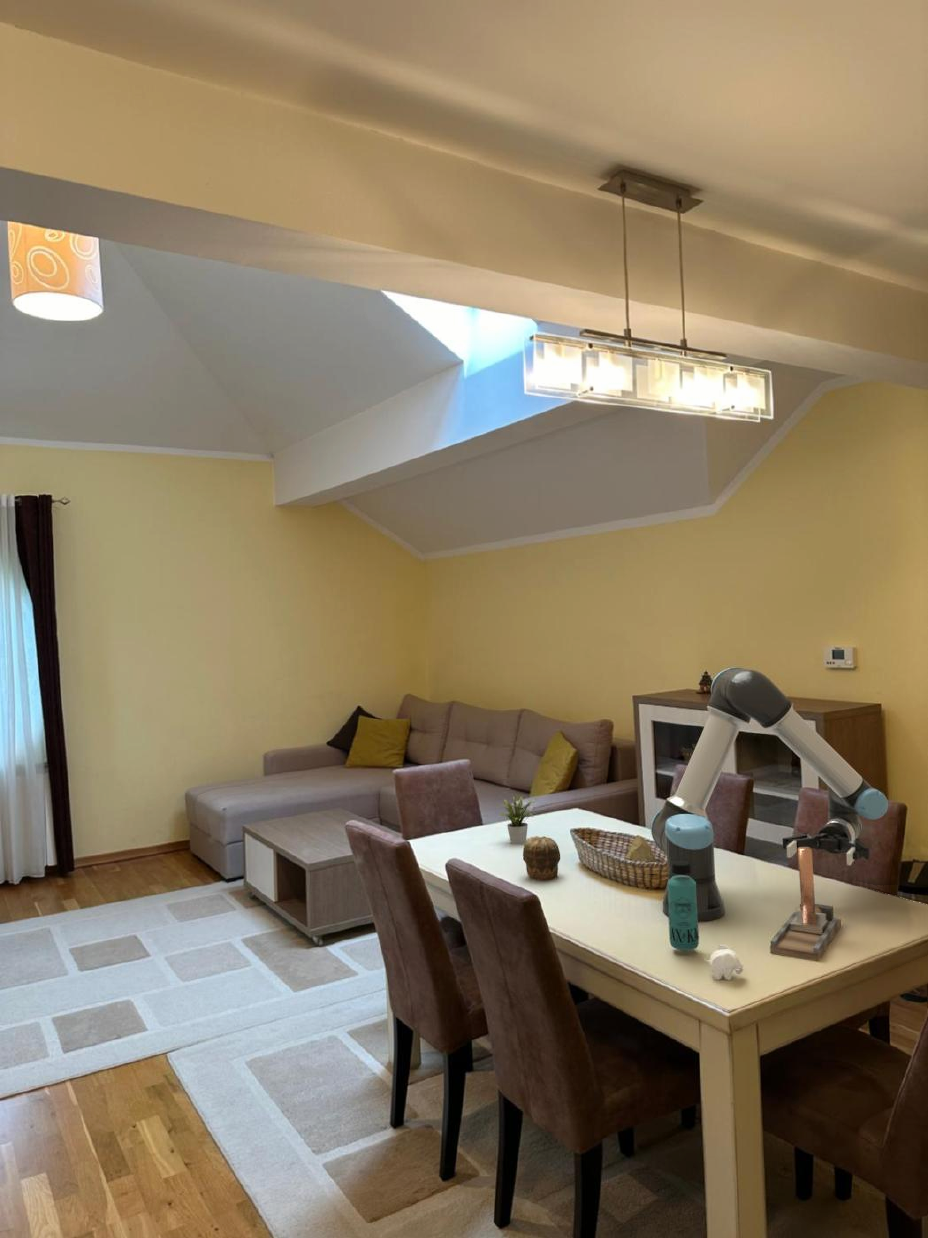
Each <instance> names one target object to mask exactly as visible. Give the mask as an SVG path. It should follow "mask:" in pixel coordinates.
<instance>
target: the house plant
mask: <svg viewBox="0 0 928 1238" xmlns="http://www.w3.org/2000/svg"><path fill="white" fill-rule="evenodd" d="M512 799H513V801H512V803H513V807H514V809H513V807H512V805H511V803H510V802H509V801H508V800H507V799H506V798H503V800H504V802H505V804H506V805H504V804H503V803H500V804H501V806H503V807H504V808H505V810H507V814H504V813H503V814H500V815H499V816H500V817H506V818H508V819H509V820H510V823H508V824H507V825H506V827H507V831H508V835H509V841H510V843H513V844H512V845H514V844H521V845H525V844H524V843H525V842H526V841H527V836H528V828H529V827H528V826H529V825H528V823H526V822H525V821H526V819H528V818H529V816H530V817H533V815H534V814H531V813H530V812H531V811H533V809H530V810H528V811H527V812H526V810H527V808H530V807H531V806H532V804H534V803H535V801H536V800H537V798H536V799H532V800H530V801H529V802H527V803H526V804H525V805H524V806H523V803H524V801H523V800H524V797H522V795H520V797H519V800H518V803H517V801H516V799H515V796H512ZM525 817H526V818H525Z"/></svg>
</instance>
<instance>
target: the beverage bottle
mask: <svg viewBox="0 0 928 1238" xmlns="http://www.w3.org/2000/svg"><path fill="white" fill-rule="evenodd" d="M672 873H675V874H689V873H691V869H690V864H689V863H688V862H685V861H676V862H673V863H672ZM667 884H668V901H669V908H668V909H669V914H668V915H667V918H668V931H669V937H668V938H669V943H670V946H671V947H672V948H674V949H676V950H681V951H693V950H695V949H697V948H698V947H699V944H700V935H699V933H700V931H699V921H698V917H697V909H698V908H697V899H696V882H695V881H694V880H693V879H692V878H691V877H689V876H684V875H677V876H673V877H672V878H671V879H670V880H669V881H667V883H666V885H667Z"/></svg>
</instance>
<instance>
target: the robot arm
mask: <svg viewBox="0 0 928 1238" xmlns="http://www.w3.org/2000/svg"><path fill="white" fill-rule="evenodd" d="M710 693H711V694H710V695H711V697H710V700H709V702H708V704H707V706H706V708H707V711H708V714H709V716H708V719H707V721H706V723H705V725H704V727H703V730H702V732H701V734H700V737H699V739H698V741H697V743H696V746H695V748H694V751H693V753H692V755H691V757H690V759H689V761H688V765H687V767H686V769H685V772H684V774H683V775H682V778H681V779H680V783H679V784H678V787H677V789H676V792H675V794H674V795H672V796H670V797H667V798H666V800H665V803H664V804H663V807H662V808H661V809H660V810H659V811H658V812H656V813H655V815H654V816H653V818H652V820H651V822H650V833H651V834H650V835H651V837H652V839H653V842H654V844H655V845H656V847H658V849H660V851H661V852H663V853H664V855H666V859H667V860H666V861H667V863H666V865H667V876H668V877H667V878H668V881H669V880H670V879H671V878H672V877H673V876H677V875H684V876H689V877H691V878H692V879H693V880H694V881H695V882H696V899H697V908H698V909H697V917H698V922H707V921H712V920H717V919H719V918H721V917H722V916H724V914H725V903H724V900H723V897H722V895H721V892H720V890H719V887H718V884H717V882H716V867H715V862H716V861H715V849H714V847H715V845H714V838H715V835H714V830H713V824H712V823H711V821H709V819H708V815H707V812H706V808H707V805H708V804H709V801H710V799H711V796H712V794H713V792H714V789H715V788H716V787H715V786H716V785H717V782H718V781H719V778H720V776H721V773H722V771H723V769H724V767H725V764H726V762H727V759H728V758H729V755H730V753H731V751H732V748H733V746H734V743H735V741H736V739H737V737H738V735H739V732H740V729H741V728H743V727H747V726H749V724H750V722H751V719H752V720H754V721H756V722H757V723H758V724H759V725H760V726H761V727H762V728H763V729H766V730H767V729H768V730H770V731H772V732H773V733H774V734H775V736H776V737H778V738H779V739H780V740H781V741H782V742H783V743H784V744H785V745H786V746H787V747H788V748H789V749H790V750H791V751H793V753H794V754H795V755H796V756H797V757H799V759H801V760H802V761H803V762H804V763H805V764H806V766H808V768H809V769H811V771H813V772H814V773H815V774H816V775H817V777H819V778H820V779H821V780H822V782H824V783H825V784H826V786H827V789H826V790H827V807H828V809H827V812H828V813H827V815H828V822H827V823H826V824H825V825H823V827H822V828H820V830H819V832H818V834H813V835H811V836H810V833H808V832H804V833H801V834H797V835H794V836H788V837H784V838H782V849H783V850H785V851H786V858H788V859H789V858H790V859H791V858H792V857H793V856H794V855H795V854H796V853H798V848H799V847H809V848H812V850H816V851H818V850H824V851H825V852H827V853H830V854H833V855H840V854H846V865H847V866H851V865H852V864H853V863H854V861H856V860H857V861H858V860H860V859H862V858H864V859H866V860H869V859H871V856H870V852H871V851H870V847H869V846H867V845H866V844H865V843H863V842H862V839H861V838H859V836H860V834H861V833H862V832H861V831H862V829H863V828H862V827H863V826H862V821H861V819H860V818H859V817H862V818H864V819H865V818H866V819H868V820H878V819H880V818H882V817H883V816H885V814H887V811H888V807H889V802H888V801H889V800H888V799H887V797H886V796H885V795H886V794H884V793H883V792H882V791H880V790H879V789H876V788H874V787H872V786H871V785H870V783H868V781H866V780H865V779H864V778H863V777H862V776H861V775H860V773H858V772H857V771H856V770H855V769H854V768H853V767H852V766H851V765H850V764H849V762H847V761H846V760H845V759H844V758H843V757H842V755H840V754H839V753H838V752H837V751H836V750H835V749H834V748H833V747H832V746H831V745H830V744H829V743H828V742H827V741H826V740H825V739H824V738H823V737H822V736H821V735H820V734H819V733H818V732H817V731H816V730H815V729H814V728H813V727H812V726H811V725H810V724H809V723H807V721H806V720H804V719H803V717H802V716H800V715H799V713H797V711H796V710H794V708H793V706H794V703H793V702H792V701H791V699H789V698H788V697H787V695H785V694H784V692H782V690H781V689H780V688H779V687H778V686H777V685H776V684H775V683H774V682H773V681H772V680H771V679H770V678H769V677H768V676H766V675H765V674H763V673H762V672H760V671H758V670H754V669H749V668H748V669H747V668H743V667H729V668H726V669H723V670H722V671H720V672H719V673H718V674H716V676H715V677H714V678H713V680H712V683H711V687H710ZM676 861H685V862H688V863H689V864H690V869H691V873H689V874H675V873H672V863H673V862H676ZM668 881H667V882H668ZM668 908H669V901H668V884H667V883H666V887H665V892H664V895H663V899H662V912H663V914H664V915H666V916H668V914H669V909H668Z"/></svg>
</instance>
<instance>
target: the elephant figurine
mask: <svg viewBox="0 0 928 1238" xmlns="http://www.w3.org/2000/svg"><path fill="white" fill-rule="evenodd" d="M703 960H704V961H706V962H708V963H709V968H710V971H711V973H712V976H713V978H714V979H715V980H716V981H719V980H721V979H722V976H723V978H724V979H725V980H727V981H731V980H732V975H733V971H735V973H736V974H737V975H740V974H742V973H743V972H744V965H743V963H742V961H741V960H740V959H739V957H738V954H737V953H736V952H735V951H734V950H732V949H731V948H730V947H729V946H728V945H727V944H720V945H719V946H718V948H717V950H715V951H713V952H712V953H711V955H710V956H709V959H708V960H707V959H705V958H704V959H703Z"/></svg>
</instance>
